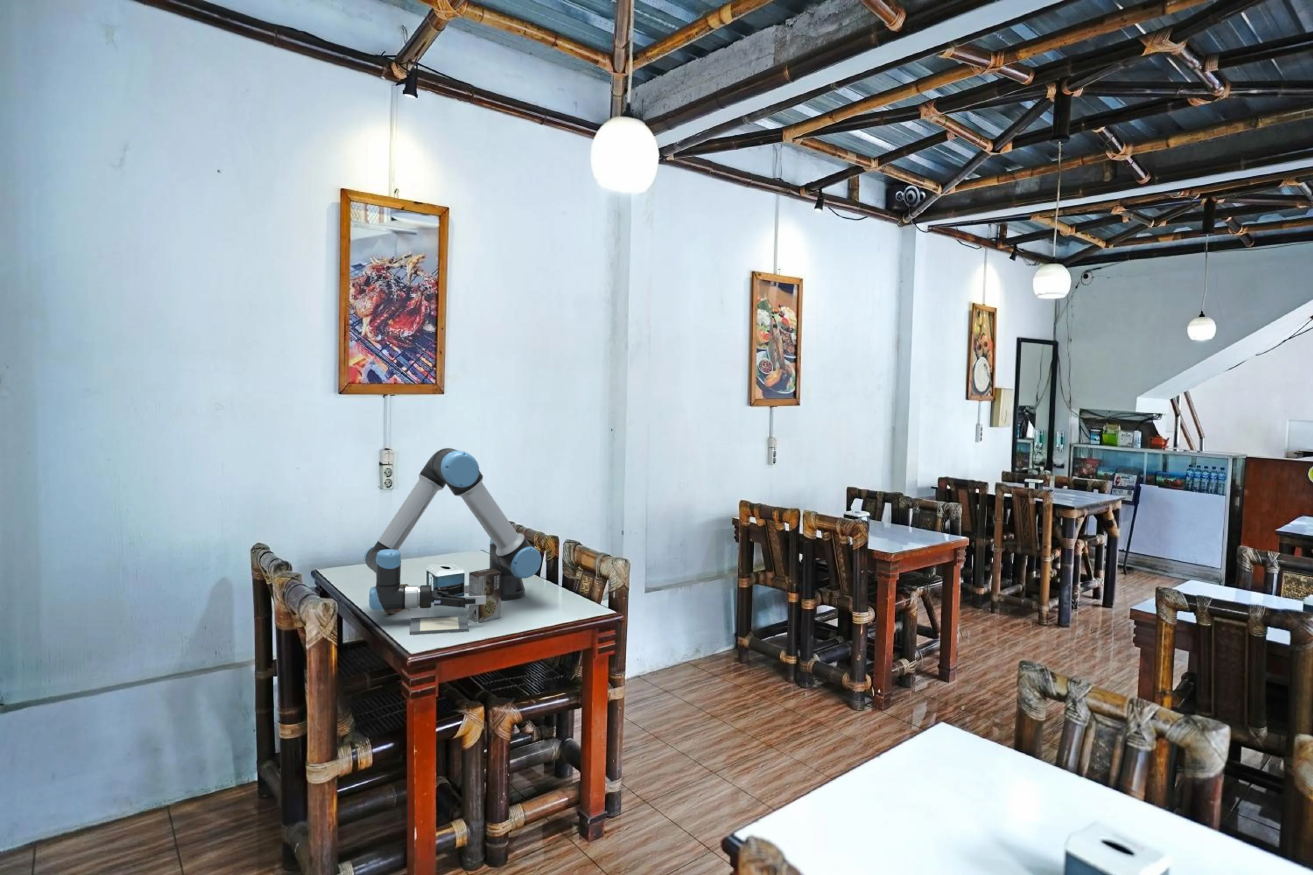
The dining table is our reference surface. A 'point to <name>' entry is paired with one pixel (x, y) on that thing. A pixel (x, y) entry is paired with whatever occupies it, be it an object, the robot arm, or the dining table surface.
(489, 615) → the coffee box
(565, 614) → the dining table surface
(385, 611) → the tin
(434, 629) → the mat
